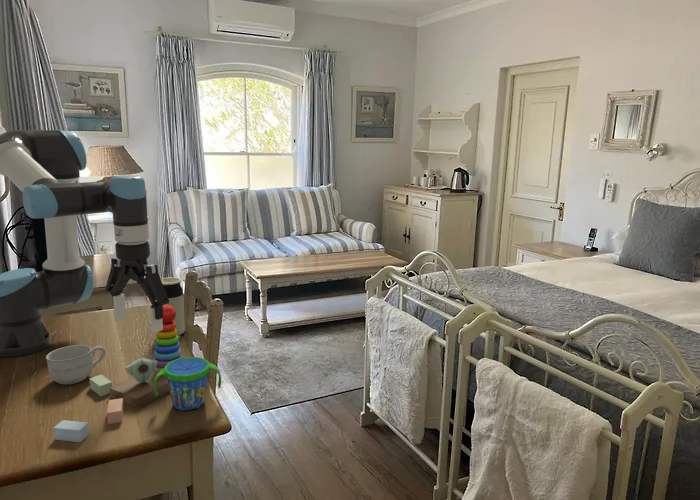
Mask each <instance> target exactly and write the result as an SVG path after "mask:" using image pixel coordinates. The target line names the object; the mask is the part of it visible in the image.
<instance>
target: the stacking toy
mask: <svg viewBox="0 0 700 500" xmlns="http://www.w3.org/2000/svg"><path fill="white" fill-rule="evenodd" d="M175 317H176V311H175V309H174V308H173V307H172V306H170V305H163V318H162V321H163V330H161V331H158V332H156V333H155V335H156V337H155V342H156V343H155V345H154V352H153V356H154V357H153V359H152V360H157V366H156V367H155V368H154V370H153V371H156V372H159V371H161V370H162V369H164V368H165V366H166V365H167V364H168V363H169V362H171V361H173V360H176V359H179V358H183V357H182V355H181V354H182V351H181V348H180V342H179V339H180V338H179V335H178V336H177V335H176V334H177V330H176V329H175V328H176V322H174V321H173V320H174V319H175Z"/></svg>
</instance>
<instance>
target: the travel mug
mask: <svg viewBox="0 0 700 500" xmlns="http://www.w3.org/2000/svg"><path fill="white" fill-rule="evenodd" d="M161 281H162V284H163V286H164V289H165V291H166V294H167V297H168V299H169V303H168V304H165V305H170V306H172V307H173V308H174V309H175V311H176V317H175V319H174V320H173V321H174V322H176V328H175V329H176V330H177V334H176V335H177V336H178V337H179V336H180V335H182V334H184V333H185V332H184V331H186V325H185V309H184V290H183V288H182V287H183V286H181V282H182V279H181V278H179V277H176V276H174V277H172V276H169V277H162V278H161Z"/></svg>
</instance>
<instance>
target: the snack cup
mask: <svg viewBox="0 0 700 500" xmlns="http://www.w3.org/2000/svg"><path fill="white" fill-rule="evenodd" d="M211 370H214V371H215V372H216V374H217V375H218V382H217V387H218V389H220V388H221V385H222V375H221V371H220V369H219V368H218V366H216V364H213V363H211V362H210V361H208V360H207V359H205V358H203V357H198V356H188V357H187V356H186V357H182V358H179V359H176V360H173V361H171V362H169V363H168V364H167V365H166V366H165V368H164V369H162V370H161V371H159V372H158V373H157V375H156V377H155V380H154V393H155V396H156V397H157V398H159V397H158V392H157V379H158V378H159V377H160V376H161V375H164V376H166V378H167V381H168V386H169V394H170V399H171V403H172V407H174V408H175V409H177V410H180V411H184V412H185V411H190V410H194V409H199V408H200V407H201V406H202V405H203V404H204V403H205V400H206V394H207V386H208V378H209V374H210V372H211Z"/></svg>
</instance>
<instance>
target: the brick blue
mask: <svg viewBox="0 0 700 500" xmlns="http://www.w3.org/2000/svg"><path fill="white" fill-rule="evenodd" d="M52 430H53V437H54V440H57V441H66V442H75V443H77V442H78V443H81V442H82V441H84V439H86V438H87V437H88V436H89V435H90V427H89V422H87V421H86V422H85V421H84V422H83V421H78V420H77V421H76V420H75V421H74V420H65V419H62V420H61V421H59V423H57V424H56V425H55V426H53V429H52Z"/></svg>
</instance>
